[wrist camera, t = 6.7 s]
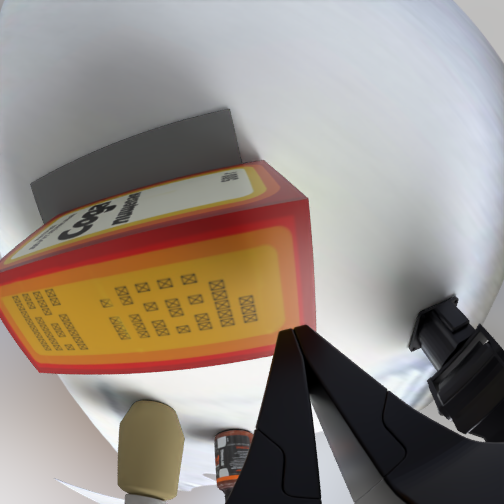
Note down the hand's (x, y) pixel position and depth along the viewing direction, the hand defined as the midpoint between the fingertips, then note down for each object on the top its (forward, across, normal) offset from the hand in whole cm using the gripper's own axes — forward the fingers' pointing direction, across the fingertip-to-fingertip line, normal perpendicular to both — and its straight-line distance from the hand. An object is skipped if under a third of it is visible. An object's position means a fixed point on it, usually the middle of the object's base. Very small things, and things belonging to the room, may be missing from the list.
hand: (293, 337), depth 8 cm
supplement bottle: (+12, +9, +32) cm, 35 cm away
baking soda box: (+7, -2, 0) cm, 7 cm away
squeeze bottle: (+12, +17, +22) cm, 30 cm away
